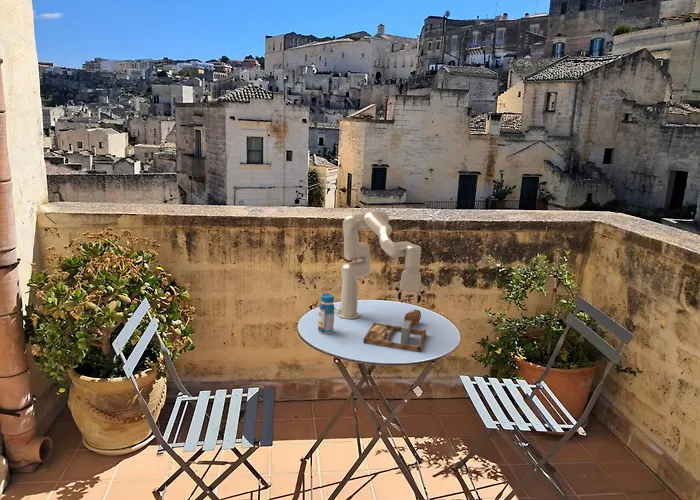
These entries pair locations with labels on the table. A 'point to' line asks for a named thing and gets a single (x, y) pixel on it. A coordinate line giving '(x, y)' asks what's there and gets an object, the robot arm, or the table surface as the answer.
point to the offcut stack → (378, 332)
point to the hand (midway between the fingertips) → (409, 301)
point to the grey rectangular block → (405, 332)
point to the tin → (413, 317)
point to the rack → (393, 344)
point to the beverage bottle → (326, 314)
